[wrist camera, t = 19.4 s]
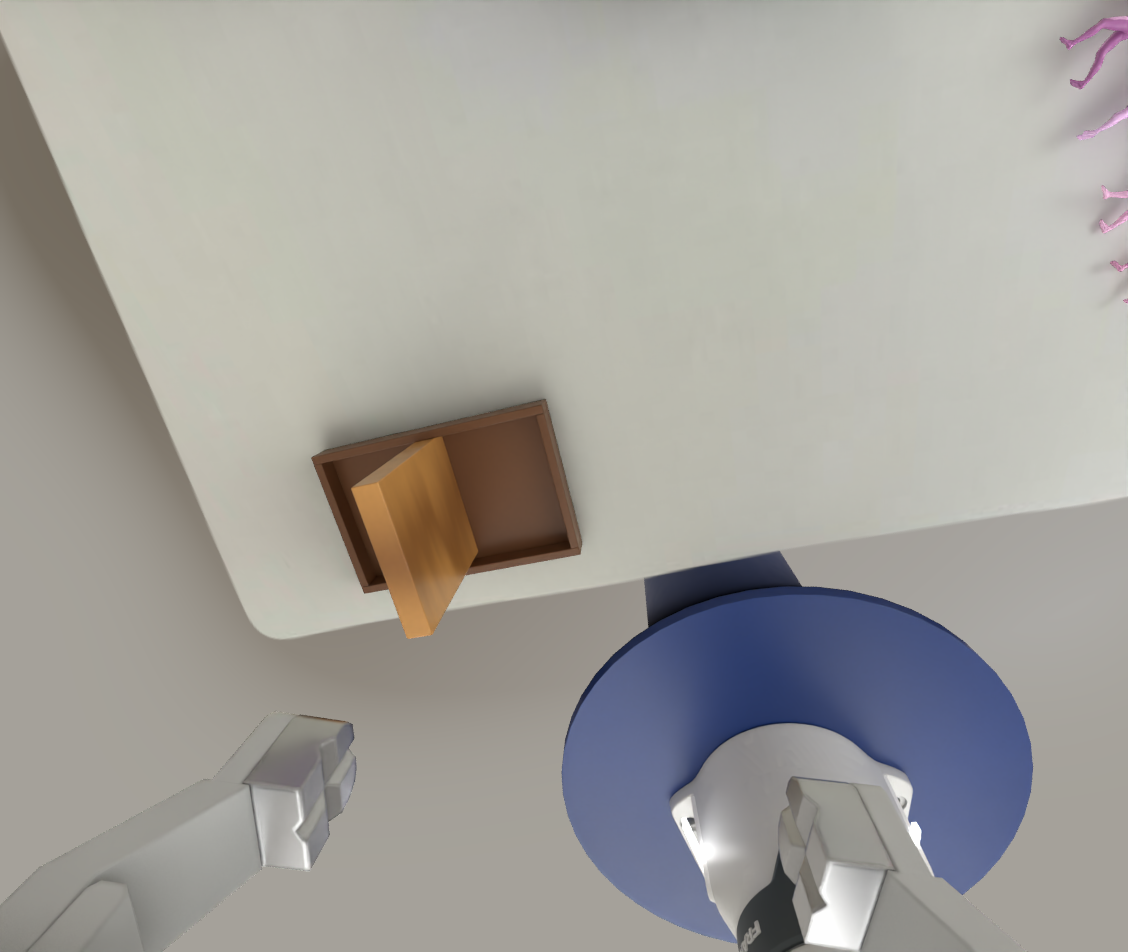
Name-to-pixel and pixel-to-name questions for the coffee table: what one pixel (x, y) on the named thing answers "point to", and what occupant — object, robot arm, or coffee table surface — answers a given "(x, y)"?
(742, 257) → the coffee table surface
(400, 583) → the toast
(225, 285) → the coffee table surface
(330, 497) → the tray
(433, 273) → the coffee table surface
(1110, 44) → the people figure
